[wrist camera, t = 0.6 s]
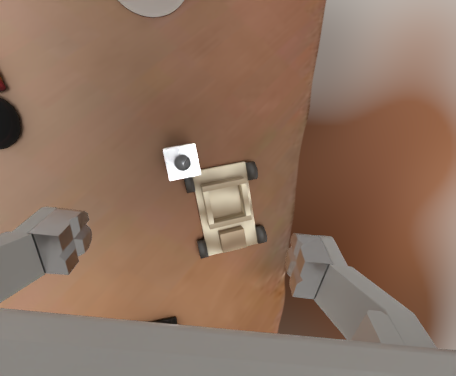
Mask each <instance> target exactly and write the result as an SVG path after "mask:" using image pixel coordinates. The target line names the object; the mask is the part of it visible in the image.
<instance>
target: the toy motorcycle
mask: <svg viewBox="0 0 456 376" xmlns="http://www.w3.org/2000/svg"><path fill="white" fill-rule="evenodd" d="M5 89H6V87H5V85H4V83H3V81H2V79H1V76H0V92H1V91H4V90H5ZM19 135H20V121H19V117H18V114H17V112H16V111H15V109H14V108H13V107H12V106H11V105H10V104H9V103H7V102H6V101H5V100H4V99H2V98H0V149H4V148H7V147H9V146H11V145H12V144H14V143H15V142H16V141H17V139H18V138H19Z"/></svg>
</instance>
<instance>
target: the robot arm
mask: <svg viewBox="0 0 456 376" xmlns="http://www.w3.org/2000/svg"><path fill="white" fill-rule="evenodd" d="M118 1H119V2H120V3H121V4H122V5H123V6H125V7H126V8H127V9H129V10H131V11H132V12H134V13H137V14H139V15H142V16H147V17H160V16H164V15H167V14H170V13H172V12H173V11H175V10H176V9H177V8H178V7H179V6H180V5H181V4H182V3H183V1H184V0H118ZM88 221H89V217H88V213H87V212H85V211H80V210H72V209H65V208H56V207H47V206H46V207H42V208H40V209H39V210H38V211H37V212H36V213H34V214H33V215H32V216H31V217H29V218H28V219H27V220H26V221H24V222H23V223H22V224H21V225H20V226H18V227H17V228H16V229H15V230H13V231H12V232H5V233H2V234H0V303H1V302H2V301H4V300H5V299H7V298H8V297H10V296H12V295H13V294H15V293H16V292H18V291H19V290H21V289H23V288H24V287H26V286H27V285H29V284H30V283H32V282H34V281H35V280H37V279H38V278H40V277H41V276H43V275H45V273H50V274H64V275H69V274H70V273H71V271H72V270H73V269H74V267H75V266H76V264H77V263H78V262H79V260H78V256H80V255H82V254H84V253H85V252H86V251H87V249H88V248H89V246H90V243H91V240H92V232H91V229H90V228H89V227H88V226H87V225H86V224H87V222H88ZM290 242H291V246H292V247H290V248H289V249H288V250H287V254H286V261H285V264H286V271H287V274H289V276H290V281H289V284H290V288H291V292H292V296H293V297H300V298H308V299H315V300H314V301H315V302H316V303H317V304H318V305H319V306H320V308H321V309H322V310H323V311H324V312H325V314H326V315H327V316H328V317H329V319H330V320H331V321H332V322H333V323H334V325H335V326H336V327H337V328H338V329H339V331H340V332H341V333H342V334H343V335H344V337H345V338H346V339H347V340H340V339H329V338H318V337H308V336H296V335H286V334H275V333H265V332H254V331H243V330H232V329H221V328H210V327H200V326H189V325H178V324H167V323H156V322H145V321H134V320H124V319H113V318H102V317H91V316H80V315H69V314H58V313H48V312H37V311H26V310H15V309H4V308H0V376H456V350H448V349H438V348H437V347H436V346H435V344H434V343H433V341H432V340H431V338H430V337H429V335H428V334H427V332H426V331H425V330H424V328H423V326H422V325H421V323H420V322H419V320H418V319H417V317H416V316H415V315H414V313H412V312H411V311H410V310H409V309H407V308H406V307H404V306H403V305H402V304H401V303H399V302H398V301H397V300H395V299H394V298H393V297H391V296H390V295H389V294H387V293H386V292H384V291H383V290H382V289H381V288H379V287H378V286H377V285H375V284H374V283H373V282H371V281H370V280H369V279H367V278H366V277H365V276H363V275H362V274H361V273H359V272H358V271H357V270H355V269H354V268H353V267H349V266H348V265H347V264H346V262H345V260H344V258H343V256H342V254H341V252H340V250H339V249H338V247H337V245H336V243H335V241H334V239H333V238H332V237H331V236H315V235H304V234H295V233H294V234H293V235H292V237H291V240H290Z"/></svg>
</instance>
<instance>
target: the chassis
mask: <svg viewBox="0 0 456 376" xmlns="http://www.w3.org/2000/svg"><path fill="white" fill-rule="evenodd" d="M200 171H201V175H198V176H193V177H188V178H184V181H185V185H186V190H187V193H190V192H195V194H196V199H197V204H198V209H199V214H200V219H201V224H202V229H203V234H204V240H200V241H197V243H198V248H199V253H200V257H201V258H205V257H209V256H210V255H214V254H218V253H222V252H223V253H225V252H229V251H233V250H237V249H241V248H245V247H247V246H249V245H253V244H257V243H258V244H260V243H264V242H267V235H266V231H265V229H264V227H263V226H262V225H261V226H257V227H255V223H254V216H253V209H252V203H251V196H250V190H249V183H248V180H253V179H257V177H258V172H257V167H256V164H255V162H254V161H252V162H247V163H245V162H244V161H242V162H237V163H231V164H226V165H221V166H216V167H211V168H206V169H200Z"/></svg>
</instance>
